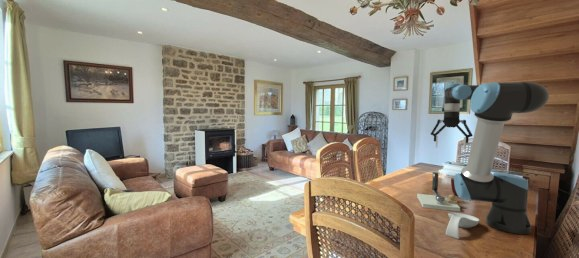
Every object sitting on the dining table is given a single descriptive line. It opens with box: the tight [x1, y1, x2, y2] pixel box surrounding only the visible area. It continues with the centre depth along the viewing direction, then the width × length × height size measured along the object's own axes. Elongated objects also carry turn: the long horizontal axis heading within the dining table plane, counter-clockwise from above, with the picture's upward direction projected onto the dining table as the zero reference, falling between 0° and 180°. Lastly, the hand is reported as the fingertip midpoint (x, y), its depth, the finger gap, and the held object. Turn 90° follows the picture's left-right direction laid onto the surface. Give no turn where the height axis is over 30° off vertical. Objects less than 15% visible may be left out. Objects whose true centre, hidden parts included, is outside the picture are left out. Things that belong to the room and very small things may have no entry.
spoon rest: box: [445, 212, 481, 240], centre depth 110 cm, size 24×12×7 cm, turn 134°
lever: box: [431, 171, 445, 201], centre depth 140 cm, size 16×4×12 cm, turn 161°
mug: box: [450, 177, 459, 197], centre depth 154 cm, size 11×8×10 cm
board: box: [416, 193, 461, 213], centre depth 140 cm, size 18×17×6 cm
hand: (450, 148), depth 146 cm, fingers open, 13 cm apart
